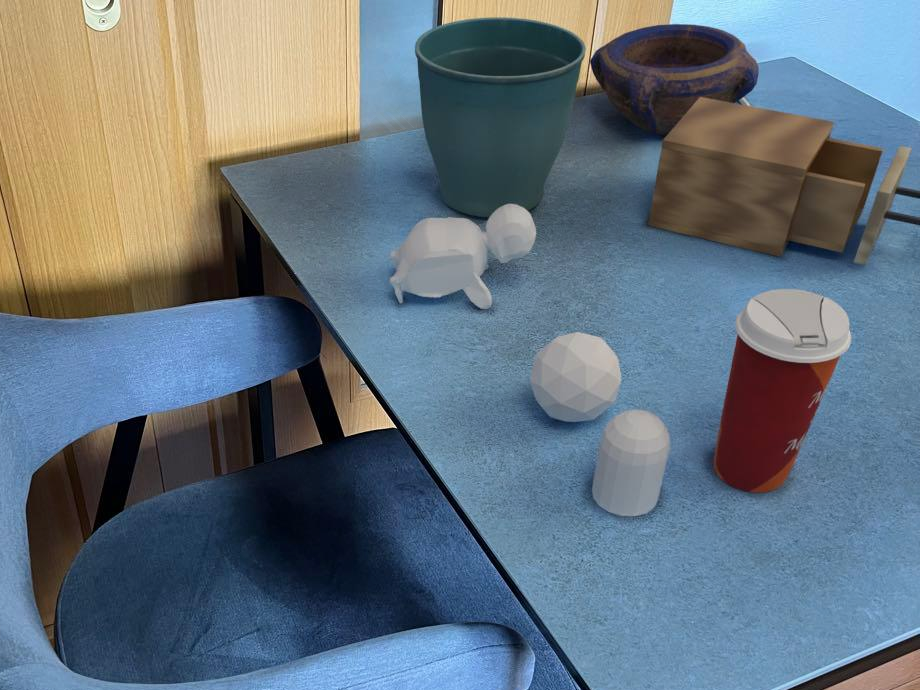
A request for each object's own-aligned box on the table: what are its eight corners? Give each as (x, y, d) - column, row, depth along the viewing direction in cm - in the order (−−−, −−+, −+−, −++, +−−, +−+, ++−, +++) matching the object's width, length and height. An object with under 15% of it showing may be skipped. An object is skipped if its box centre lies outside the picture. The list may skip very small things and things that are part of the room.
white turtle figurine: (411, 336, 106) (552, 287, 102) (379, 267, 101) (527, 213, 96) (410, 291, 112) (544, 244, 108) (380, 225, 107) (519, 172, 102)
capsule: (672, 501, 83) (691, 423, 78) (620, 525, 81) (636, 447, 76) (628, 464, 87) (644, 387, 81) (578, 486, 85) (590, 409, 79)
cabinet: (809, 206, 118) (834, 121, 111) (780, 257, 110) (805, 169, 103) (683, 179, 123) (700, 96, 116) (647, 225, 115) (662, 139, 109)
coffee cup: (814, 501, 83) (873, 344, 72) (712, 503, 83) (756, 347, 72) (784, 435, 89) (835, 281, 78) (689, 437, 89) (726, 284, 78)
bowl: (574, 101, 140) (583, 23, 133) (700, 89, 142) (715, 12, 135) (620, 158, 128) (632, 75, 121) (756, 144, 130) (776, 62, 123)
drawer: (942, 229, 112) (970, 158, 106) (923, 279, 105) (952, 206, 99) (763, 191, 119) (781, 123, 113) (735, 235, 112) (752, 164, 106)
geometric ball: (582, 448, 92) (603, 426, 84) (506, 402, 93) (520, 375, 85) (625, 379, 93) (650, 351, 85) (550, 333, 94) (567, 301, 86)
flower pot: (440, 153, 129) (443, 8, 118) (582, 172, 125) (600, 24, 113) (393, 220, 117) (392, 66, 105) (549, 243, 113) (565, 85, 101)
